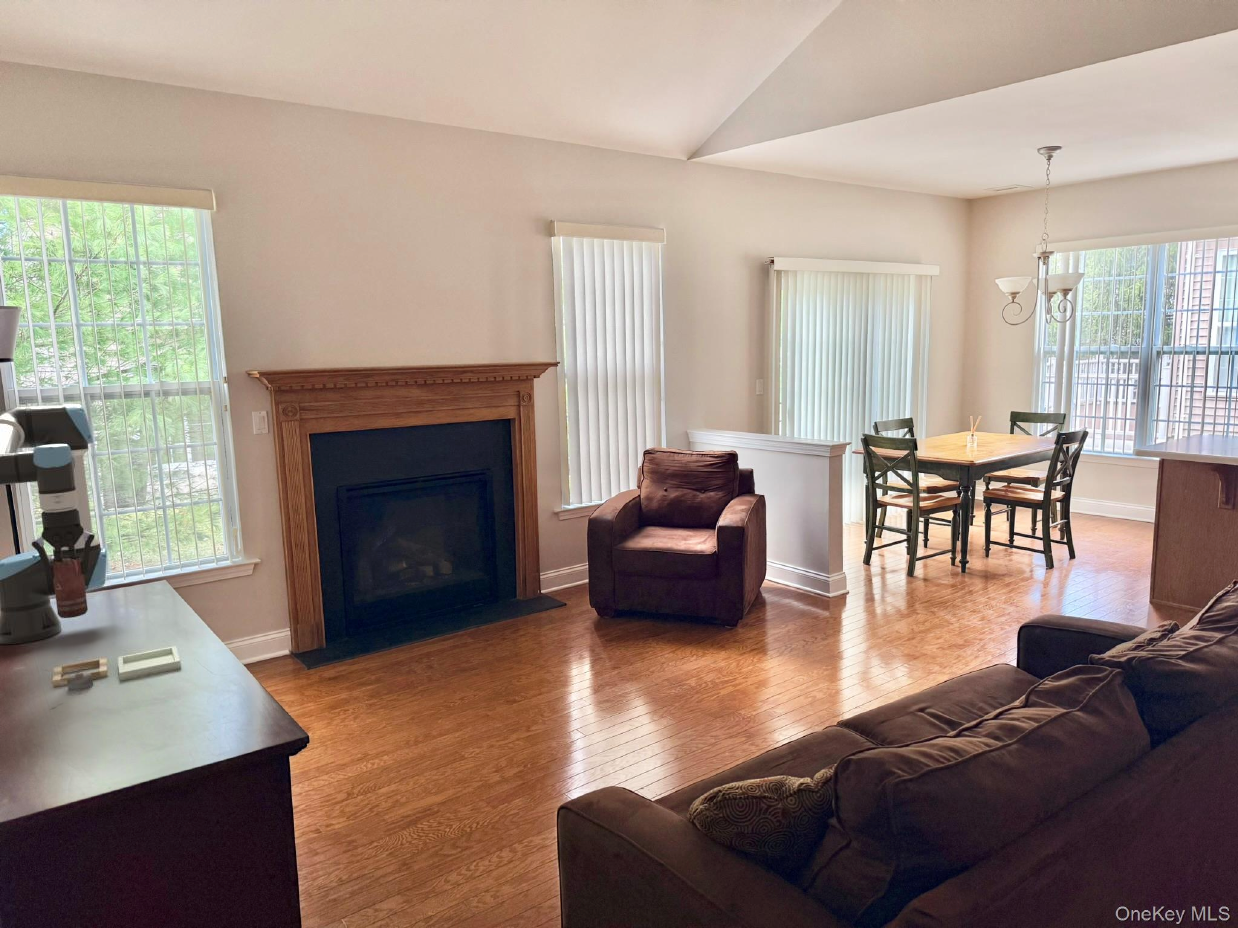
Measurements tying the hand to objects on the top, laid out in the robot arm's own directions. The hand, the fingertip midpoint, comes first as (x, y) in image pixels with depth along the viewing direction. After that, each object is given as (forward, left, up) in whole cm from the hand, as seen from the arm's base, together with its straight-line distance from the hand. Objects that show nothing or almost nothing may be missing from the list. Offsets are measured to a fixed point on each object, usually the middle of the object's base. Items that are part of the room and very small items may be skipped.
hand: (72, 603), depth 204 cm
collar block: (+4, 0, -18) cm, 18 cm away
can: (0, 0, -3) cm, 3 cm away
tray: (+5, +14, -18) cm, 24 cm away
